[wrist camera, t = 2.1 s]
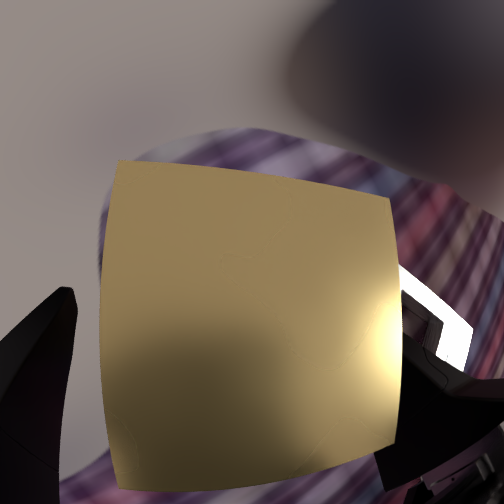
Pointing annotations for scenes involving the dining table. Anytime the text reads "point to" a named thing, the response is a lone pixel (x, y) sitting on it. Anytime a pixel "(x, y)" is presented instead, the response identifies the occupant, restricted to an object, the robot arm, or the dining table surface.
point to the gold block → (245, 327)
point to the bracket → (436, 321)
